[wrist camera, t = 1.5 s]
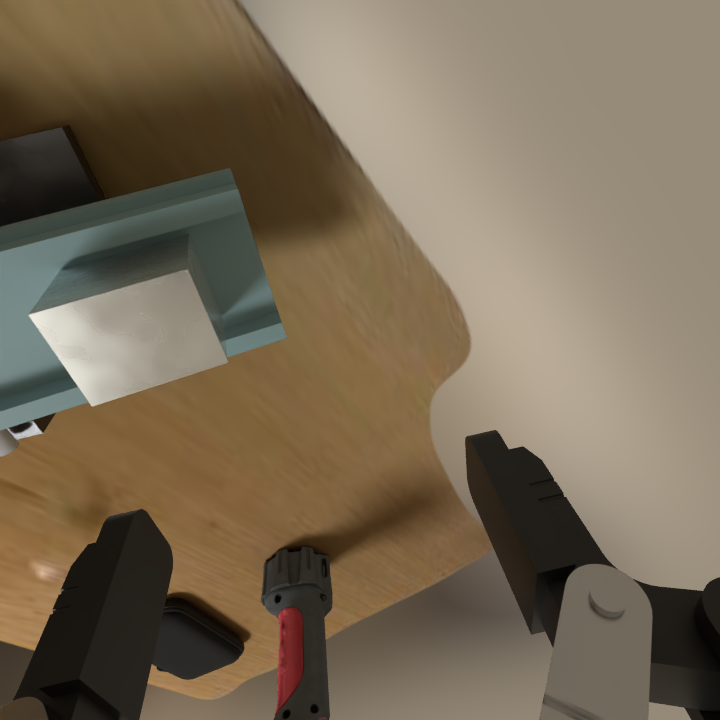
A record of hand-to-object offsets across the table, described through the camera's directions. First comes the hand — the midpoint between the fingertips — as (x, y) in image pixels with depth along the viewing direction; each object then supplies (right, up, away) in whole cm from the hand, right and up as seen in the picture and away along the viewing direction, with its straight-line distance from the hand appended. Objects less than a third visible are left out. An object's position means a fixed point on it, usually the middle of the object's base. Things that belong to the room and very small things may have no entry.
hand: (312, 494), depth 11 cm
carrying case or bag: (-21, -30, +44) cm, 57 cm away
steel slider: (-10, +7, +11) cm, 16 cm away
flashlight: (-7, -19, +39) cm, 44 cm away
